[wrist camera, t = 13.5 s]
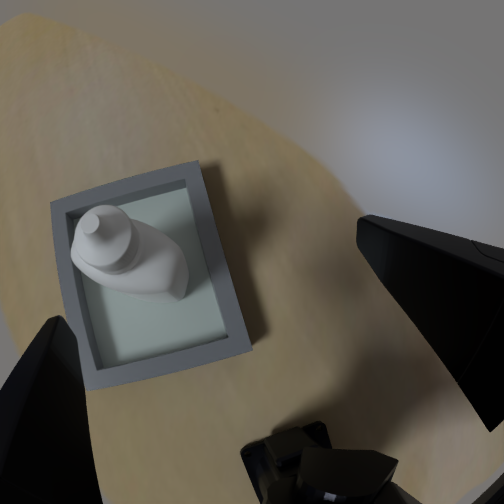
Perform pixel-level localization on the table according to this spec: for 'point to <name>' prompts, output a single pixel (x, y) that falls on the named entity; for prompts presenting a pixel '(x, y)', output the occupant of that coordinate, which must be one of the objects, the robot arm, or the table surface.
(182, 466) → the table surface
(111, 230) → the eye dropper bottle
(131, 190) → the gray rectangular tray
